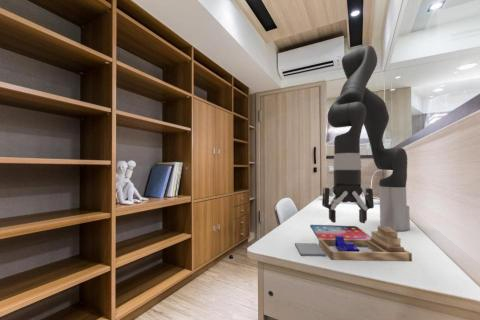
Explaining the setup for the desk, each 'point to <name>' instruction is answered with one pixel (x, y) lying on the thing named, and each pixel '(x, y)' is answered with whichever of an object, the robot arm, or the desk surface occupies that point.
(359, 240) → the rack
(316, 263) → the desk surface
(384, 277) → the desk surface
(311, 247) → the felt pad
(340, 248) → the cable holder
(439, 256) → the desk surface
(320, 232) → the tablet
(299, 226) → the desk surface
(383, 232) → the offcut stack
